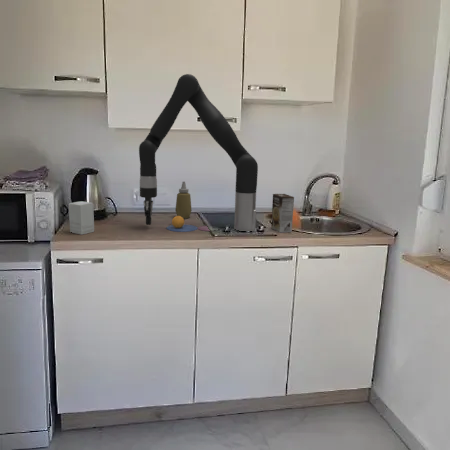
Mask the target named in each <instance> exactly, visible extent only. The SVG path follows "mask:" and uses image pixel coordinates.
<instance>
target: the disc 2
mask: <svg viewBox="0 0 450 450" xmlns="http://www.w3.org/2000/svg"><path fill="white" fill-rule="evenodd" d="M207 226H208V225H201V226H198V229H197V230H198V231H202V232H211V231H210V230H209V229H208V227H207Z"/></svg>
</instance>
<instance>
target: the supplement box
mask: <svg viewBox="0 0 450 450" xmlns="http://www.w3.org/2000/svg"><path fill="white" fill-rule="evenodd" d="M94 212H95V211H94V202H90V201H89V202H88V201H82V200H81V201H74V202H70V203H68V215H69V216H68V219H69V233H71V232H72V233H71V234H75V235H76V234H77V235H86V234H90V233H94V232H95V217H94V215H95V213H94Z"/></svg>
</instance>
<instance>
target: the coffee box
mask: <svg viewBox="0 0 450 450" xmlns="http://www.w3.org/2000/svg"><path fill="white" fill-rule="evenodd" d="M294 202H295V196H293V195H292V196H291V195H289V194H286V193H273V194H272V206H271V207H272V208H271V225H270V226H271V227H270V228H271V229H272V230H274V231H276V232H278V233H292V231H293V221H294V220H293V217H294V208H295V207H294V205H295V204H294Z"/></svg>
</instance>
